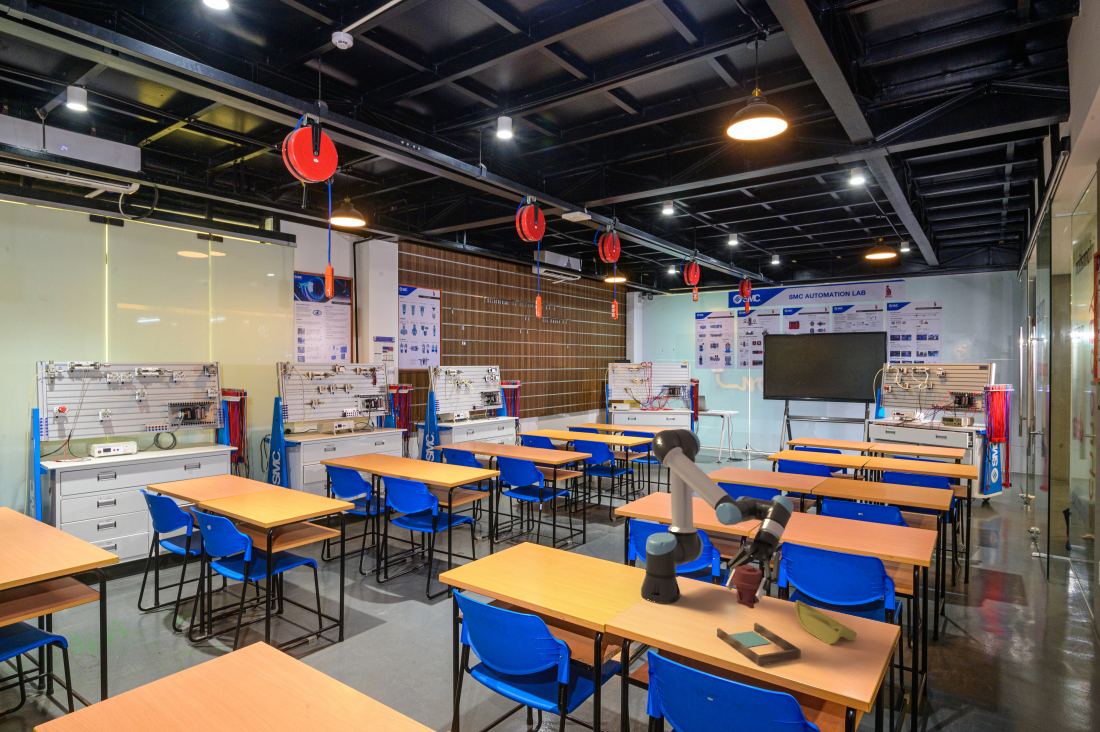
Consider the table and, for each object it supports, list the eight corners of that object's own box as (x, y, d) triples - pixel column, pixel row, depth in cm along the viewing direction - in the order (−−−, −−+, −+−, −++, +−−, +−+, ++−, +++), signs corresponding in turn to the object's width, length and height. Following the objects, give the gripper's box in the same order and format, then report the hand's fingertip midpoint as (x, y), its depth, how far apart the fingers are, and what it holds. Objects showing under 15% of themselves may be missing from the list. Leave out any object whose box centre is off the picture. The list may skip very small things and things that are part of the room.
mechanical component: (762, 613, 175) (729, 606, 179) (765, 602, 184) (734, 596, 188) (762, 573, 175) (729, 568, 180) (766, 565, 184) (734, 560, 189)
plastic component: (860, 634, 182) (841, 625, 179) (851, 655, 181) (832, 646, 178) (811, 606, 201) (793, 598, 197) (803, 626, 200) (785, 617, 196)
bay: (716, 636, 183) (717, 628, 183) (756, 630, 189) (756, 622, 189) (758, 665, 164) (758, 657, 164) (801, 658, 170) (801, 649, 170)
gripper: (804, 550, 183) (780, 610, 173) (743, 535, 200) (717, 588, 190) (796, 537, 180) (771, 597, 169) (734, 522, 197) (708, 576, 187)
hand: (742, 592), depth 180 cm, fingers closed on mechanical component, 10 cm apart
